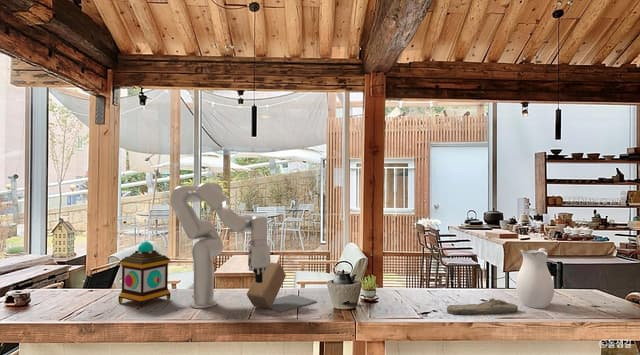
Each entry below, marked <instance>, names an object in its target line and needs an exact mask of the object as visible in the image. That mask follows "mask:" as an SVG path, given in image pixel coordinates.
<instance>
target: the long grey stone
mask: <svg viewBox="0 0 640 355" xmlns="http://www.w3.org/2000/svg"><path fill="white" fill-rule="evenodd" d="M518 310H519V307H518V305H517V304H515V303H509V302H507V301H505V300H501V299H495V298H494V297H493V298H489V299H488V301H483V302H481V303H471V304H469V303H467V304H450V305H447V307H446V313H447V314H450V315H490V314H495V315H496V314H497V313H500V314H510V313H514V312H517V311H518ZM497 315H498V314H497Z"/></svg>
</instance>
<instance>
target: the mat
mask: <svg viewBox="0 0 640 355" xmlns="http://www.w3.org/2000/svg"><path fill="white" fill-rule="evenodd" d="M315 303H318V301H317V300H314V299H310V298H308V297H303V296H301V295H297V294H294V293H291V294H288V295H284V296H279V297H276V298H275V300H274V303H273V305H272V307H271V308H270V310H272V311H275V312H278V313H283V312H287V311H291V310H294V309H297V308H302V307H305V306H308V305H312V304H315Z"/></svg>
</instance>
